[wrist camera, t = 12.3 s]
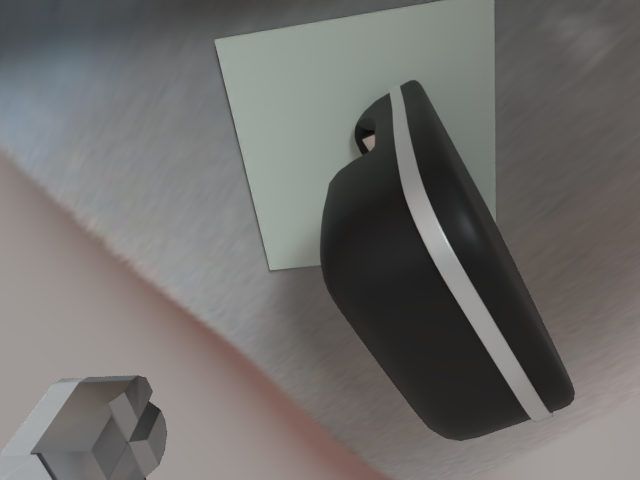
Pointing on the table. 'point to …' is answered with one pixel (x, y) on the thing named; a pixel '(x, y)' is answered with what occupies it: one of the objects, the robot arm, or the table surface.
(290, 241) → the mat
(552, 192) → the table surface
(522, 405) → the battery charger
